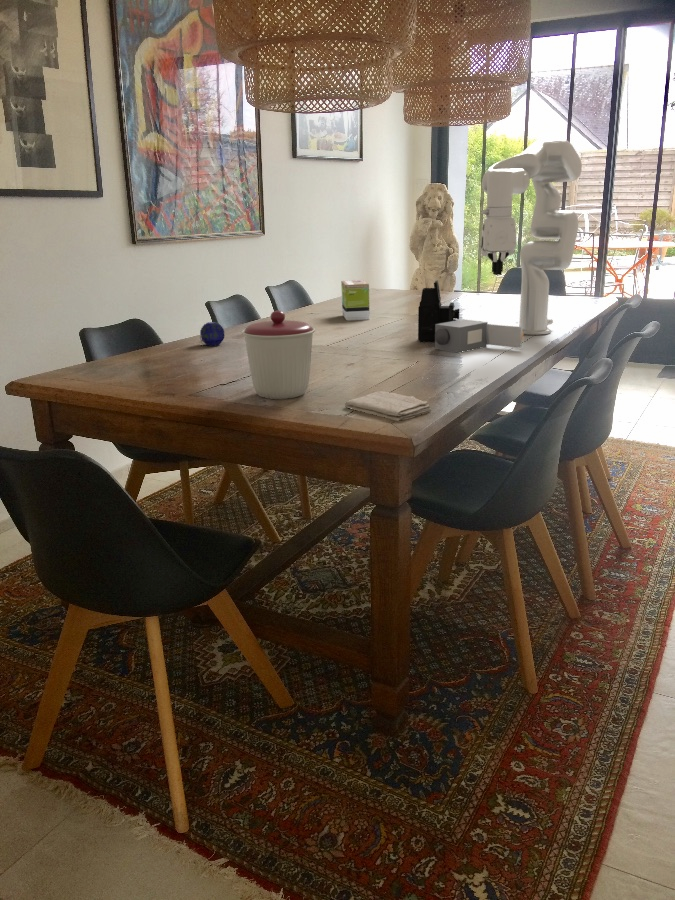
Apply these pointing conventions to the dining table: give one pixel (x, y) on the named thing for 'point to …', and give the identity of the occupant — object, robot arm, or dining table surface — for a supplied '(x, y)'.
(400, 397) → the washcloth
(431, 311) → the camera
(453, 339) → the grey device box
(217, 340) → the ball
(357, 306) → the tea box
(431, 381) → the dining table surface
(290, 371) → the canister
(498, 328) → the side door
